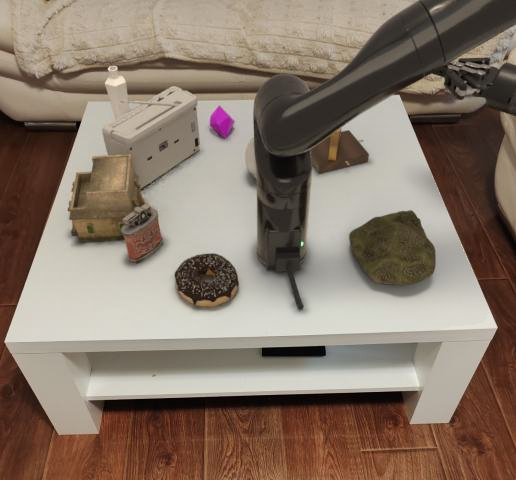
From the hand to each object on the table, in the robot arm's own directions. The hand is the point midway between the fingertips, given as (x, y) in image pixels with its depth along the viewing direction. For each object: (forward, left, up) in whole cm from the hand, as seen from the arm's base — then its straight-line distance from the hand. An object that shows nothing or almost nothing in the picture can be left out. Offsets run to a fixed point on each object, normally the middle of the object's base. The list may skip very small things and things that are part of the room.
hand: (428, 64), depth 105 cm
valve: (+6, +28, -24) cm, 38 cm away
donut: (-32, +42, -24) cm, 58 cm away
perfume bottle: (+19, +62, -24) cm, 70 cm away
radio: (+6, +53, -24) cm, 59 cm away
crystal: (+18, +39, -24) cm, 50 cm away
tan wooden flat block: (+7, +14, -22) cm, 27 cm away
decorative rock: (-28, +8, -24) cm, 38 cm away
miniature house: (-12, +62, -24) cm, 68 cm away
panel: (+7, +14, -24) cm, 29 cm away
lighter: (-22, +54, -24) cm, 63 cm away
